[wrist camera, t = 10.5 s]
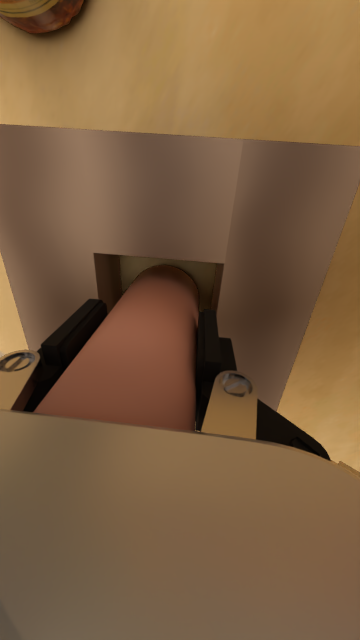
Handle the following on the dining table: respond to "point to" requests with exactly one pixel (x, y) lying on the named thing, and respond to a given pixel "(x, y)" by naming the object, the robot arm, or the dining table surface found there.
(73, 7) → the sauce bottle
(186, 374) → the peg
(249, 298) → the socket block
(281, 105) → the dining table surface
